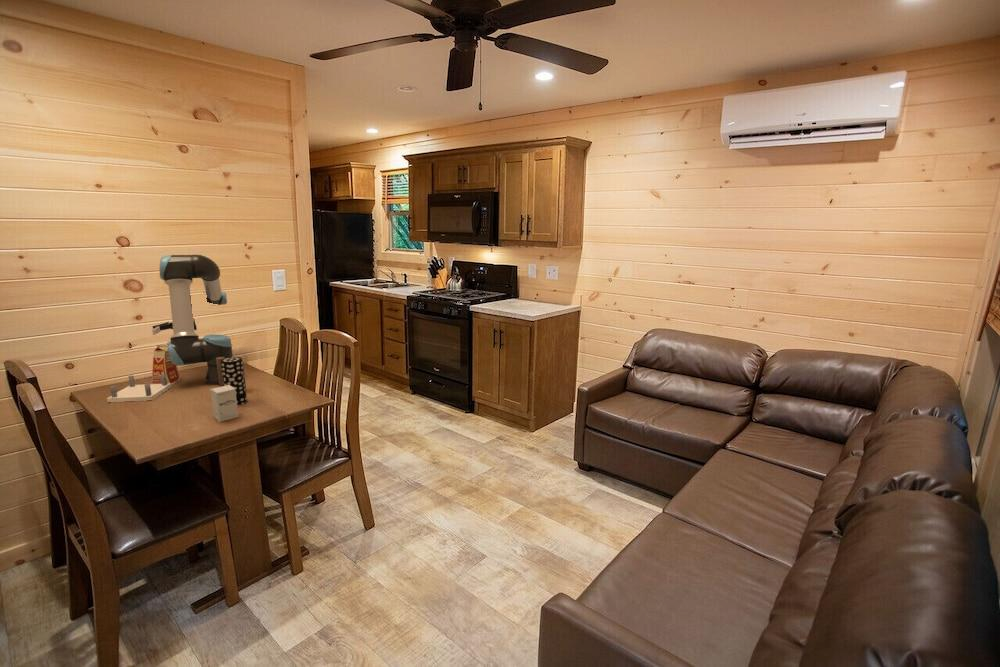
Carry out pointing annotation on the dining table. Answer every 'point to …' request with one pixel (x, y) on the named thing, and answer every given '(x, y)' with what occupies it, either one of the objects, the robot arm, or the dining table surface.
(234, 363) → the white-spotted black cylinder
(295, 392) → the dining table surface
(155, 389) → the peg platform
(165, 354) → the milk carton
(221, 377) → the wooden block
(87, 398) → the dining table surface
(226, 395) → the supplement box
